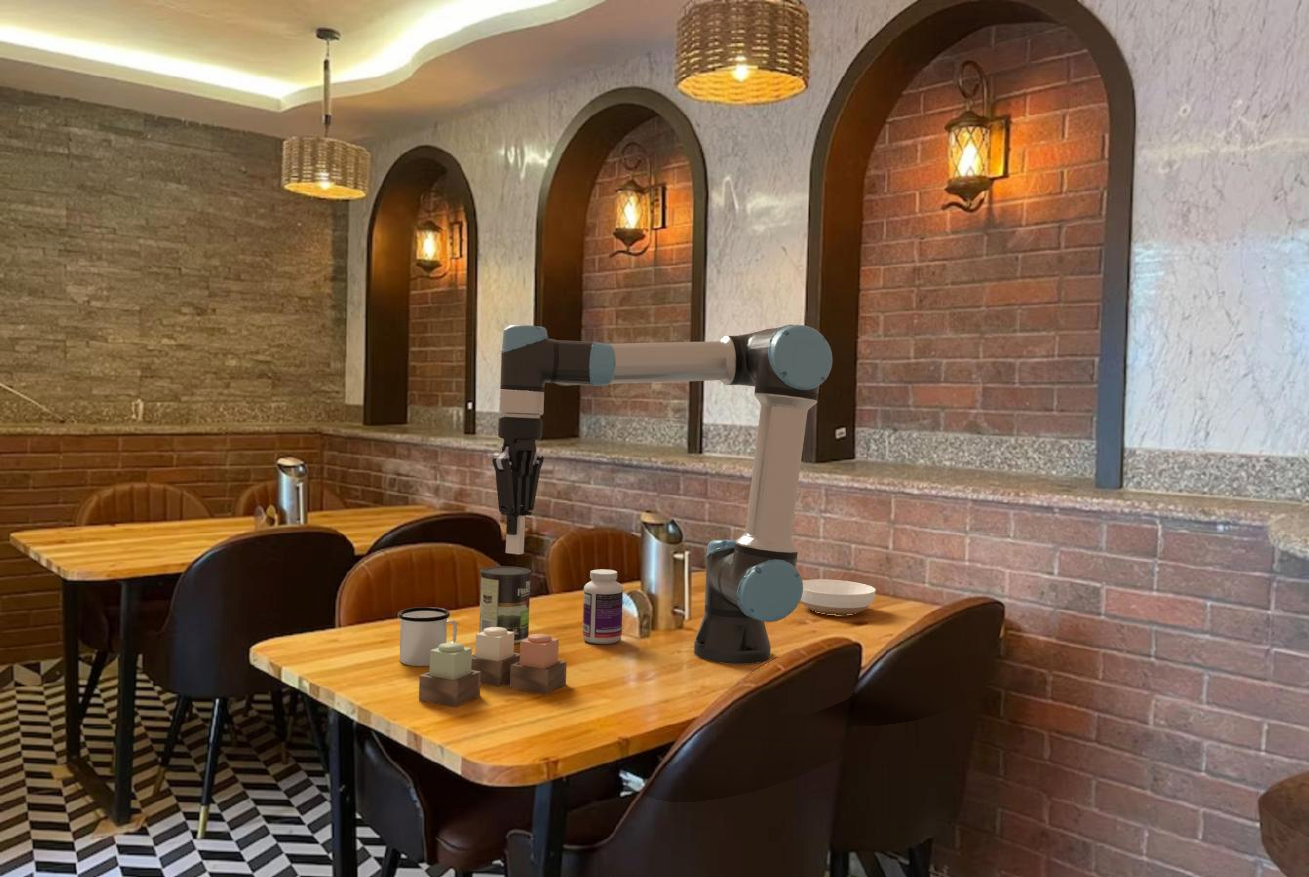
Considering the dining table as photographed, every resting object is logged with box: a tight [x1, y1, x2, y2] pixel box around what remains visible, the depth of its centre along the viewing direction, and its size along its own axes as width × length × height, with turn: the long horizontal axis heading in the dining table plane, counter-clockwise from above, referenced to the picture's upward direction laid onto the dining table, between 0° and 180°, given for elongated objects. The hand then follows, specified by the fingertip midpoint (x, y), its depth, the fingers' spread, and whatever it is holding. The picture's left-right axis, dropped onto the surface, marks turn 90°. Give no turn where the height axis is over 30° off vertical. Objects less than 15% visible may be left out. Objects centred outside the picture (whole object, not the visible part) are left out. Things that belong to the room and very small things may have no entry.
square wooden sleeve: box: [471, 652, 520, 687], centre depth 170 cm, size 7×7×4 cm
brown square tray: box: [418, 670, 481, 708], centre depth 158 cm, size 7×7×4 cm
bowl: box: [800, 578, 877, 615], centre depth 238 cm, size 20×20×6 cm
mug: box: [397, 606, 458, 667], centre depth 181 cm, size 12×10×9 cm
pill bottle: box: [582, 568, 624, 645], centre depth 200 cm, size 8×8×14 cm
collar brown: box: [509, 659, 567, 696], centre depth 167 cm, size 7×7×4 cm
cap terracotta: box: [519, 633, 560, 669], centre depth 167 cm, size 5×5×7 cm
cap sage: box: [428, 642, 473, 680], centre depth 158 cm, size 5×5×7 cm
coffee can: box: [478, 565, 532, 645], centre depth 199 cm, size 10×10×14 cm
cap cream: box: [474, 627, 515, 662], centre depth 170 cm, size 5×5×7 cm
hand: (514, 552), depth 167 cm, fingers closed
